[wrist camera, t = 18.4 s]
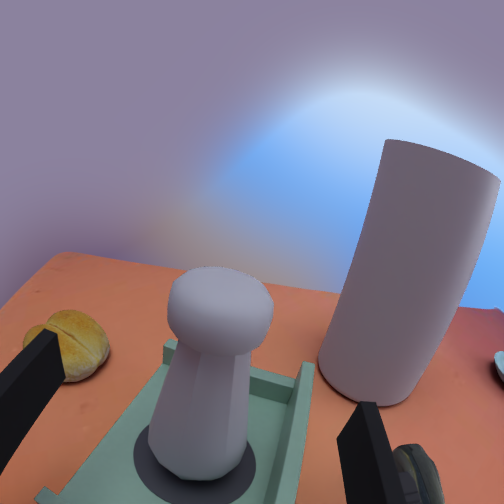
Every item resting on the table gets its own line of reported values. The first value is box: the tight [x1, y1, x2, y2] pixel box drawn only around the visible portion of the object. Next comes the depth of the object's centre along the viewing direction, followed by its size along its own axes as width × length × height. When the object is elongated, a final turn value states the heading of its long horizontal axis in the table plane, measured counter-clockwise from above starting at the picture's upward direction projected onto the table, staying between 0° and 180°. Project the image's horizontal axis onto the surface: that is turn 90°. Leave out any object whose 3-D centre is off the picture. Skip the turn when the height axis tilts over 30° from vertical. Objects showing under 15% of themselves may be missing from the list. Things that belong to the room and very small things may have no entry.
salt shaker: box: [148, 266, 274, 481], centre depth 14 cm, size 6×6×13 cm
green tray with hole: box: [34, 339, 315, 504], centre depth 16 cm, size 12×18×7 cm, turn 166°
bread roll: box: [23, 310, 110, 382], centre depth 25 cm, size 8×9×4 cm
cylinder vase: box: [318, 139, 501, 406], centre depth 29 cm, size 12×12×25 cm
